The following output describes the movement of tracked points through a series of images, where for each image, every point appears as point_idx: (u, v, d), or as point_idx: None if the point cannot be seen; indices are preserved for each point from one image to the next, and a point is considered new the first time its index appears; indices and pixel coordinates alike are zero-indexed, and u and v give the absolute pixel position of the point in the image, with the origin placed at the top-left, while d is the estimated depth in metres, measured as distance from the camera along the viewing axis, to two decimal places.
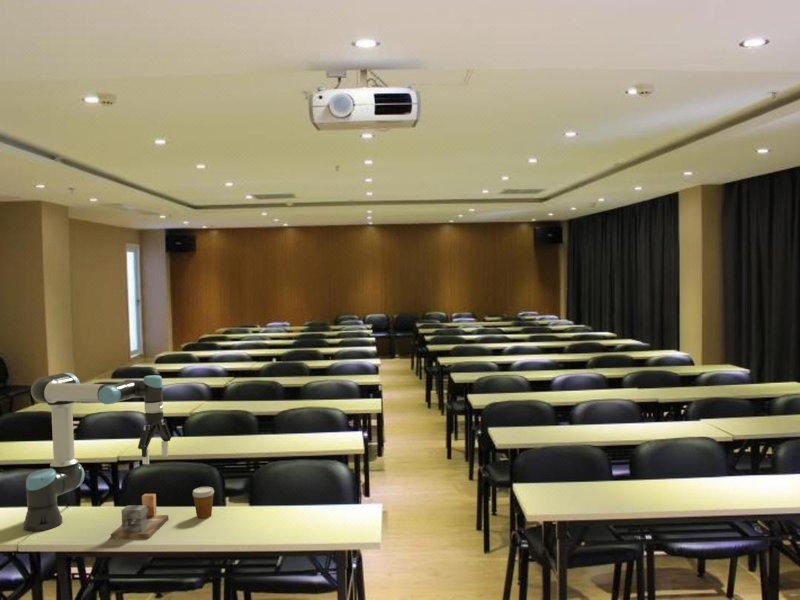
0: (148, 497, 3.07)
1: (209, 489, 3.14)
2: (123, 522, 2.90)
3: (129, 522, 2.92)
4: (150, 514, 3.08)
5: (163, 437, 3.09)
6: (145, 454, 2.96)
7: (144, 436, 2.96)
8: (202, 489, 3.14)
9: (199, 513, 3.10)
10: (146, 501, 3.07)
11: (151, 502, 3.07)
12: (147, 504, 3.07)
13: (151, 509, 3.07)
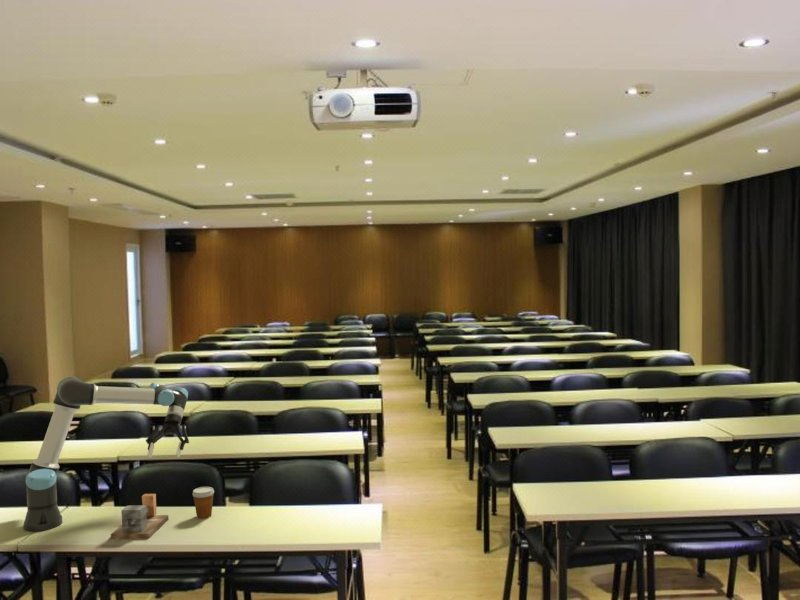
0: (148, 497, 3.07)
1: (209, 489, 3.14)
2: (123, 522, 2.90)
3: (129, 522, 2.92)
4: (150, 514, 3.08)
5: (156, 440, 3.32)
6: None
7: (186, 433, 3.34)
8: (202, 489, 3.14)
9: (199, 513, 3.10)
10: (146, 501, 3.07)
11: (151, 502, 3.07)
12: (147, 504, 3.07)
13: (151, 509, 3.07)
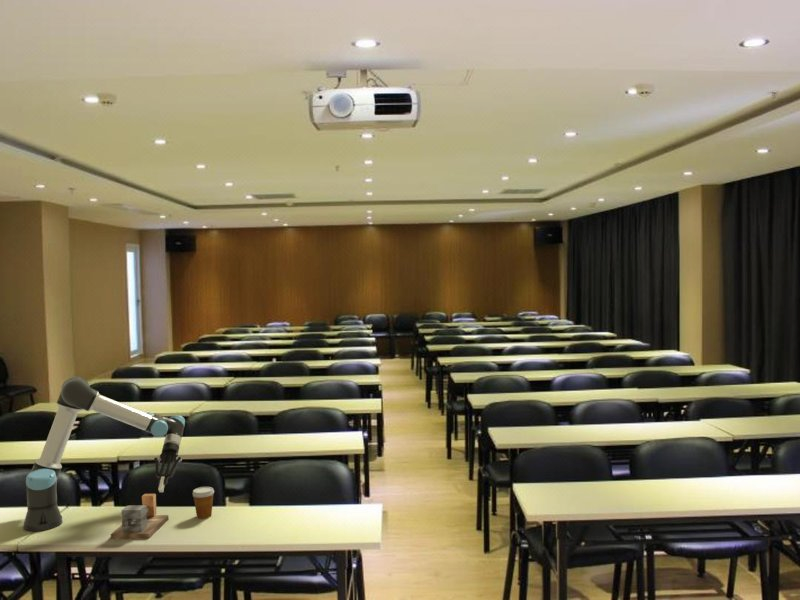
0: (148, 497, 3.07)
1: (209, 489, 3.14)
2: (123, 522, 2.90)
3: (129, 522, 2.92)
4: (150, 514, 3.08)
5: (163, 472, 3.27)
6: None
7: (176, 467, 3.29)
8: (202, 489, 3.14)
9: (199, 513, 3.10)
10: (146, 501, 3.07)
11: (151, 502, 3.07)
12: (147, 504, 3.07)
13: (151, 509, 3.07)
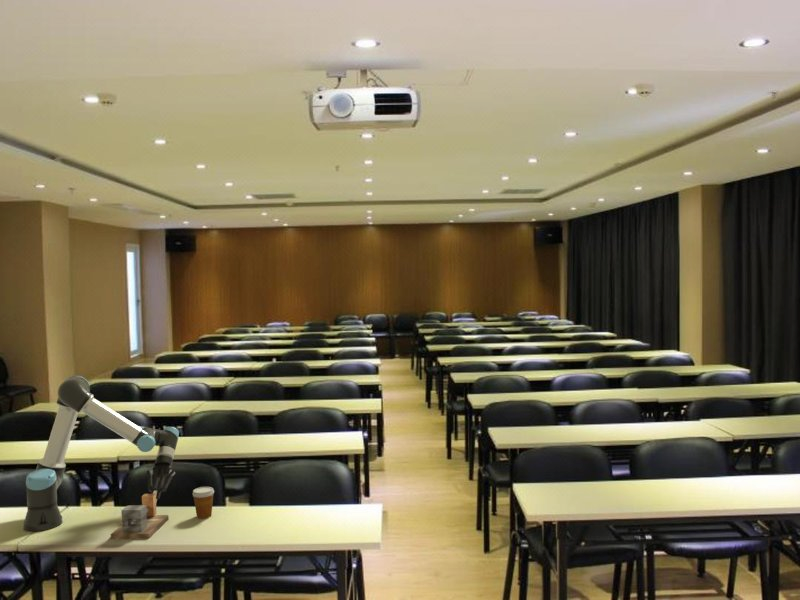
0: (148, 497, 3.07)
1: (209, 489, 3.14)
2: (123, 522, 2.90)
3: (129, 522, 2.92)
4: (150, 514, 3.07)
5: (156, 486, 3.18)
6: None
7: (169, 481, 3.20)
8: (202, 489, 3.14)
9: (199, 513, 3.10)
10: (146, 501, 3.07)
11: (151, 502, 3.07)
12: (147, 504, 3.07)
13: (151, 509, 3.07)
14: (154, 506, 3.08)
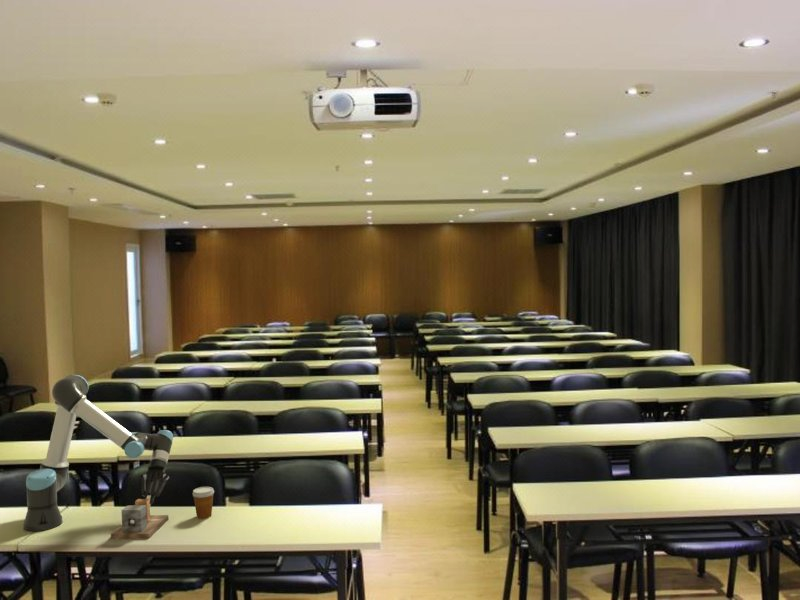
0: (142, 502, 3.00)
1: (209, 489, 3.14)
2: (123, 522, 2.90)
3: None
4: None
5: (149, 491, 3.11)
6: None
7: (163, 485, 3.13)
8: (202, 489, 3.14)
9: (199, 513, 3.10)
10: None
11: None
12: None
13: None
14: (148, 511, 3.01)
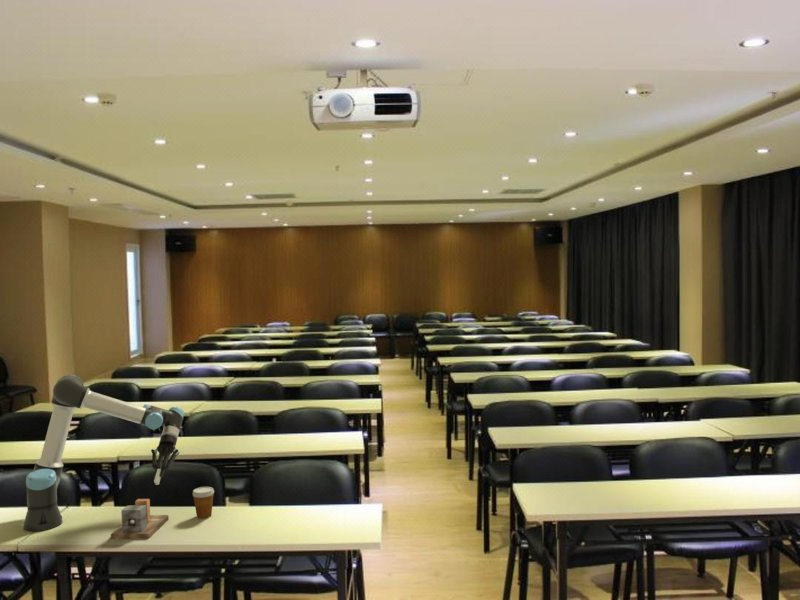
0: (142, 502, 3.00)
1: (209, 489, 3.14)
2: (123, 522, 2.90)
3: None
4: None
5: (160, 464, 3.21)
6: None
7: (173, 460, 3.23)
8: (202, 489, 3.14)
9: (199, 513, 3.10)
10: None
11: None
12: None
13: None
14: (148, 511, 3.01)
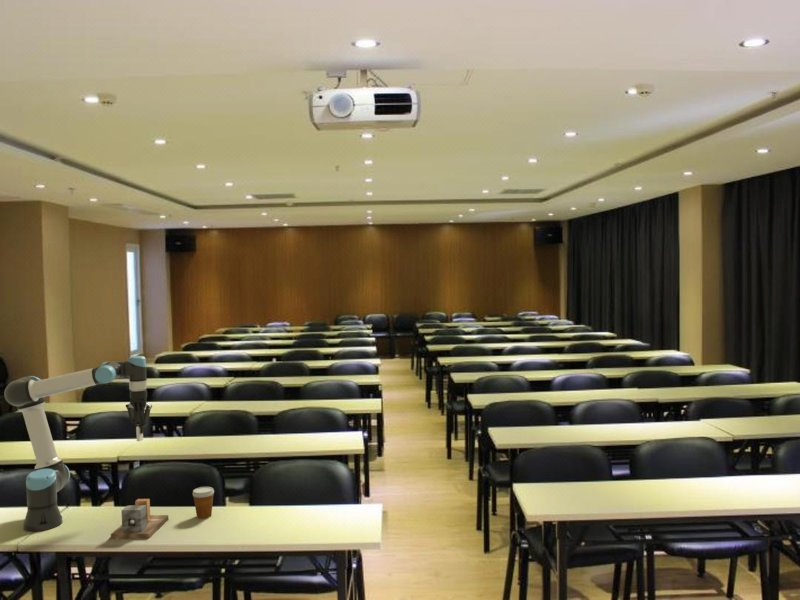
0: (142, 502, 3.00)
1: (209, 489, 3.14)
2: (123, 522, 2.90)
3: None
4: None
5: (138, 420, 3.24)
6: None
7: (148, 414, 3.23)
8: (202, 489, 3.14)
9: (199, 513, 3.10)
10: None
11: None
12: None
13: None
14: (148, 511, 3.01)
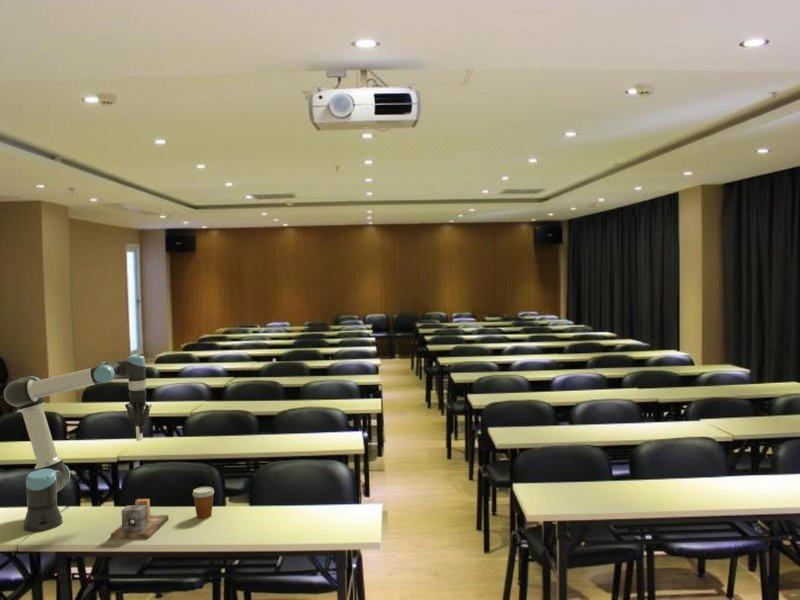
0: (142, 502, 3.00)
1: (209, 489, 3.14)
2: (123, 522, 2.90)
3: None
4: None
5: None
6: None
7: (148, 414, 3.22)
8: (202, 489, 3.14)
9: (199, 513, 3.10)
10: None
11: None
12: None
13: None
14: (148, 511, 3.01)
